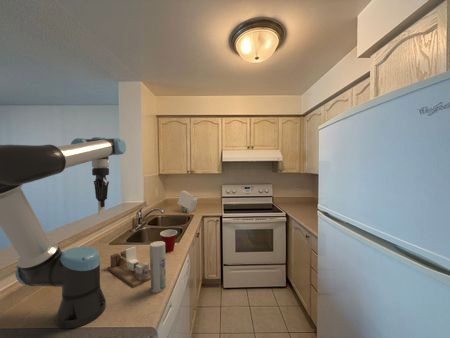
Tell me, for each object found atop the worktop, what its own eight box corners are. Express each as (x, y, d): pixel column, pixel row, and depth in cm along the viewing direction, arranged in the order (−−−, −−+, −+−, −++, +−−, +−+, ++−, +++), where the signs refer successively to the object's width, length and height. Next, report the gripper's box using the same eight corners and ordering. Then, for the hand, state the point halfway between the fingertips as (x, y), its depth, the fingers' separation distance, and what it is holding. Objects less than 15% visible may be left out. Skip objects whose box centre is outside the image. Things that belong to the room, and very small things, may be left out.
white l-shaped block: (131, 271, 102) (130, 251, 102) (126, 268, 105) (125, 249, 105) (140, 267, 106) (140, 248, 106) (135, 264, 109) (135, 246, 109)
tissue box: (183, 207, 261) (188, 188, 258) (194, 212, 257) (200, 193, 254) (174, 211, 241) (181, 191, 238) (186, 216, 237) (193, 196, 234)
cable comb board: (134, 288, 93) (134, 272, 93) (107, 269, 110) (107, 256, 110) (158, 277, 102) (158, 262, 102) (129, 261, 120) (129, 248, 120)
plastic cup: (159, 255, 128) (159, 235, 128) (160, 248, 138) (160, 230, 138) (178, 252, 131) (177, 233, 130) (177, 246, 141) (177, 228, 141)
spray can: (152, 284, 96) (152, 241, 95) (167, 284, 96) (166, 240, 96) (148, 293, 89) (147, 246, 89) (164, 292, 90) (163, 246, 89)
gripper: (113, 167, 107) (114, 213, 108) (103, 167, 115) (104, 210, 116) (97, 167, 101) (98, 216, 102) (87, 167, 109) (88, 212, 110)
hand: (101, 213), depth 109 cm, fingers closed
